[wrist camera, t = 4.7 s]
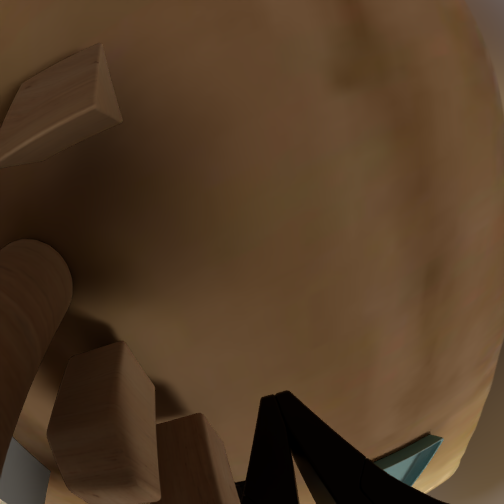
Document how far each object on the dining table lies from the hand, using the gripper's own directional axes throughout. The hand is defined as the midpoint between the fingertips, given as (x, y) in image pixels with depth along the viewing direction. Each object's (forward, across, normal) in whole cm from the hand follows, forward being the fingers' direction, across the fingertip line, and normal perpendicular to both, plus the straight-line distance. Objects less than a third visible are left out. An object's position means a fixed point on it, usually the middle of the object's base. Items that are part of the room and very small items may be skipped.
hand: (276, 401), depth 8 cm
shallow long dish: (+6, -12, +35) cm, 37 cm away
